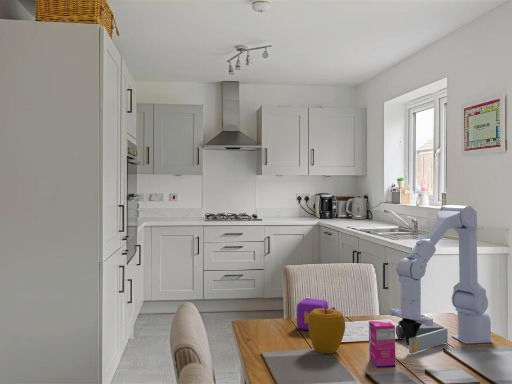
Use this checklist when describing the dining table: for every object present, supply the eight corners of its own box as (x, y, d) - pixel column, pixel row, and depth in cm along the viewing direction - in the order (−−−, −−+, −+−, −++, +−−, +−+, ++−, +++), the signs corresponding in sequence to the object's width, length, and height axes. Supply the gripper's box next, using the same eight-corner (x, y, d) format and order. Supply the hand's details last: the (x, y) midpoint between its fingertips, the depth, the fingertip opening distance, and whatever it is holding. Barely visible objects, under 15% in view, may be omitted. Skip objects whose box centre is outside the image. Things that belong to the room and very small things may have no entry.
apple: (347, 347, 148) (347, 305, 148) (341, 358, 138) (341, 313, 138) (312, 343, 152) (312, 302, 152) (304, 354, 142) (304, 310, 142)
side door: (445, 341, 153) (445, 327, 153) (449, 342, 152) (449, 328, 152) (409, 352, 142) (409, 338, 142) (413, 354, 141) (413, 339, 141)
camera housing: (431, 335, 161) (431, 318, 161) (443, 343, 153) (443, 325, 153) (394, 337, 159) (394, 320, 159) (405, 344, 151) (406, 326, 151)
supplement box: (368, 360, 136) (368, 320, 137) (388, 360, 137) (388, 319, 137) (374, 368, 131) (375, 325, 131) (396, 367, 131) (396, 325, 131)
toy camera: (336, 334, 163) (336, 304, 163) (295, 331, 165) (295, 302, 165) (337, 325, 173) (337, 297, 173) (299, 323, 176) (299, 295, 176)
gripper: (382, 296, 148) (382, 340, 148) (421, 305, 136) (421, 354, 136) (398, 293, 152) (398, 336, 152) (437, 302, 139) (437, 349, 139)
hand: (410, 344), depth 144 cm, fingers closed
